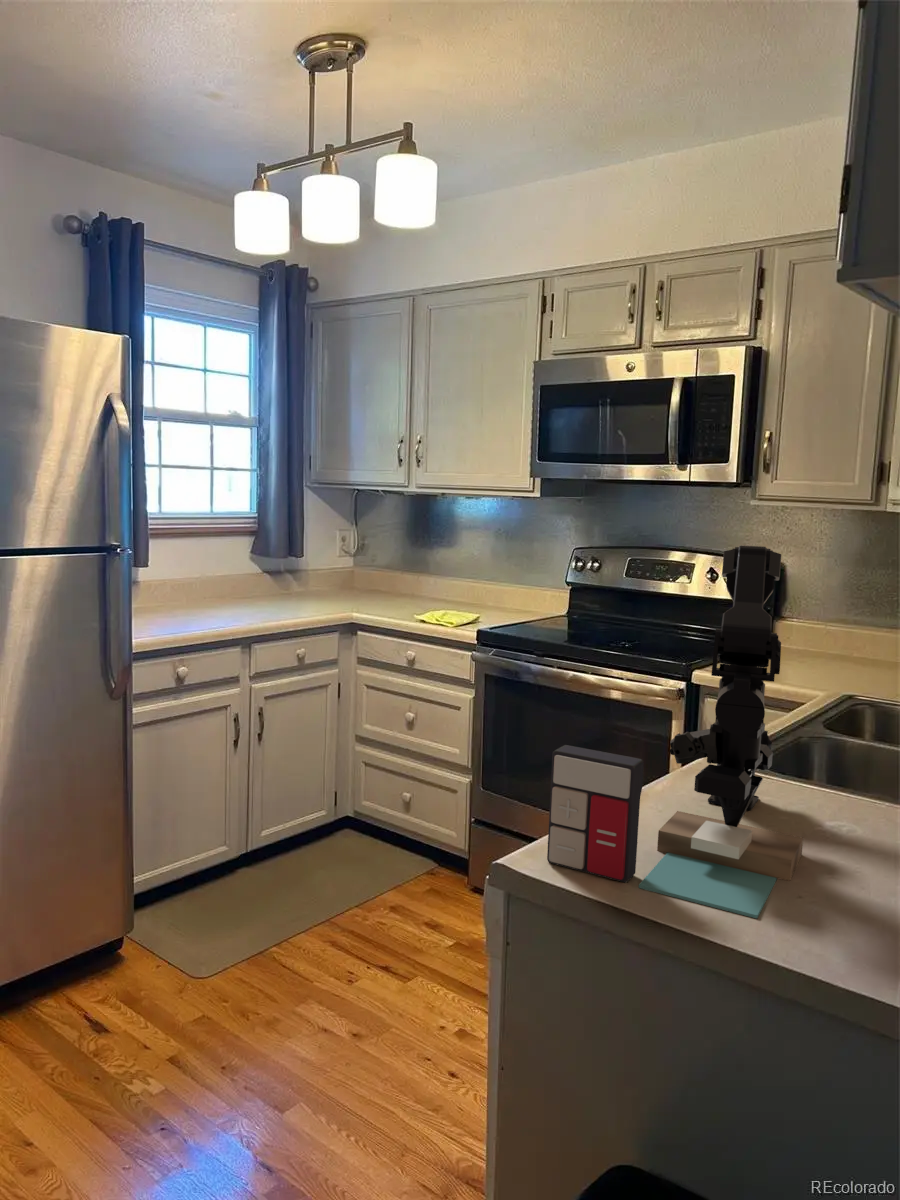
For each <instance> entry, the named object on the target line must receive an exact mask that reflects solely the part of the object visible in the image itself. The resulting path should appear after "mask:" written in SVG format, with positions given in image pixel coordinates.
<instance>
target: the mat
mask: <svg viewBox="0 0 900 1200" xmlns="http://www.w3.org/2000/svg"><path fill="white" fill-rule="evenodd" d="M777 879H778V878H775V877H770V876H766V875H762V874H758V873H753V872H749V871H745V870H741V869H737V868H732V867H728V866H724V865H720V864H715V863H711V862H707V861H703V860H698V859H694V858H690V857H686V856H681V855H677V854H673V853H669V852H667V853H666V854H664V856H663V857H662V858H661V859H660V860H659V861H658V863H657V864H656V865H654V867H653V868H652V869H651V870H650V871H649V873H648V874H647V875H646V876H645V877H644V878H643V879H642V881H641V882H640V883H639V884H638V889H641V890H645V891H649V892H654V893H658V894H661V895H666V896H669V897H672V898H675V899H679V900H684V901H687V902H692V903H696V904H699V905H703V906H706V907H711V908H715V909H718V910H723V911H727V912H730V913H733V914H738V915H741V916H745V917H749V918H753V919H758V918H759V916H760V914H761V912H762V911H763V908H764V906H765V904H766V902H767V901H768V898H769V896H770V894H771V892H772V891H773V888H774V886H775V884H776V882H777Z"/></svg>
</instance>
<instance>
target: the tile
mask: <svg viewBox="0 0 900 1200" xmlns="http://www.w3.org/2000/svg"><path fill="white" fill-rule="evenodd" d="M751 839H752V830H748V829H743V828H738V827H734V826H729V825H725V824H720V823H716V822H711V821H705V823H704V824H703V825H702V826H701V827H700V828H699V829H698V830H697V831H696V833H695V834H694V835H693V836H692V839H691V848H693V849H697V850H701V851H705V852H709V853H714V854H718V855H722V856H726V857H731V858H735V859H739V858H740V857H741V855H742V854H743V852H744V851H745V850H746V848H747V847H748V845H749V844H750V843H751Z"/></svg>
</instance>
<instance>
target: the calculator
mask: <svg viewBox="0 0 900 1200" xmlns="http://www.w3.org/2000/svg"><path fill="white" fill-rule="evenodd" d="M551 757H552V758H551V775H550V778H551V779H550V798H549V814H548V815H549V817H548V832H547V833H548V834H547V835H548V837H547V853H546V855H547V856H546V857H547V862H548V863H550V864H553V865H557V866H561V867H563V868H568V869H572V870H575V871H580V872H584V873H587V874H591V875H595V876H598V877H602V878H606V879H608V880H614V881H618V882H622V883H624V884H625V883H628V882H629V881H630V880H631V879H632V877H633V876H634V875H635V874H636V867H637V855H638V853H637V852H638V837H639V836H638V835H639V821H640V820H639V819H640V807H641V806H640V805H641V795H642V791H643V781H644V765H645V761H644V759H641V758H639V757H632V756H626V755H623V754H622V755H621V754H616V753H611V752H605V751H600V750H595V749H589V748H585V747H579V746H573V745H567V744H564V745H562V746H560V747H558V748H557V749H555V750H554V751H552V756H551Z"/></svg>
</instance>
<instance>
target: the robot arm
mask: <svg viewBox="0 0 900 1200" xmlns="http://www.w3.org/2000/svg"><path fill="white" fill-rule="evenodd" d="M722 558H723V559H722V569H721V577H722V578H726V581H725V583H726V584H725V587H726V590H727V593H728V594H729V597H730V599H731V600H732V607H730V608H729V609H728V610H726V611H725V612H724V613H722V619H721V627H720V628H715V633H714V643H713V645H714V646H713V652H712V653H713V655H712V665H711V676H712V677H720V679H719V681H718V682H719V683H718V693H717V698H716V704H715V708H714V709H715V710H714V711H715V722H713V724H710V726H709V727H710V728H706V729H701V730H696V731H690V732H689V731H686V732H684V733H680V732H679V733H677V734H676V735H674V738H672V739H671V740H670V741H669V742H670V743H669V745H670V749H669V754H670V755H672V756H674V760H675V761H676V762H675V763H676V764H679V765H680V764H685V763H686V762H689V761H694V760H699V759H705V758H706V763H707V764H708V765H706V766H705V767H704V768H702V769H701V770H700V771H699V772H698V773H697V774H696V775H695V777H694V789H693V790H694V792H696V793H698V794H703V795H708V798H707V802H708V803H711V804H715V805H720V806H721V812H722V815H723V821H725V825H729V826H734V827H738V825H739V824H741V820H742V819H743V817H744V815H745V813H746V811H752V809H753V808H754V807H755V805H756V804H757V803H758V801H759V800H758V799H759V798H760V797H759V796H758V795H755V794H756V793H757V790H758V789H759V787H760V785H761V783H762V781H763V779H764V778H763V777H762V776H759V775H756V770H761V771H765V770H770V768H771V767H772V765H773V756H774V755H773V754H774V752H773V751H772V745H773V743H772V742H773V741H772V740H771V739H770V737H769V734H768V733H769V732H768V730H765V729H766V723H764V720H765V714H766V712H765V710H766V709H765V692H766V691H765V690H766V684H765V682H771V683H772V682H775V676H776V675H780V672H781V671H780V670H781V658H782V657H781V655H782V654H781V653H782V651H781V650H782V642H781V641H780V639H779V635H778V633H777V632H772V630H773V628H772V627H773V626H772V625H773V617H772V616H771V615H770V613H769V612H767V611H766V610H765V609H764V605H765V603H766V602H767V600H768V599H769V597H770V596H771V595H772V594H773V592H774V589H775V582H776V581H778V582H779V581H780V578H781V565H782V564H781V563H782V554H781V553H779V552H775V551H774V550H771V548H767V547H766V546H761V545H760V546H759V545H739V546H735V547H734V548H732V549H728V550H724V551H723V556H722ZM718 660H719V661H718ZM718 662H719V667H718ZM769 665H770V667H769ZM768 667H769V672H768Z"/></svg>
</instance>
